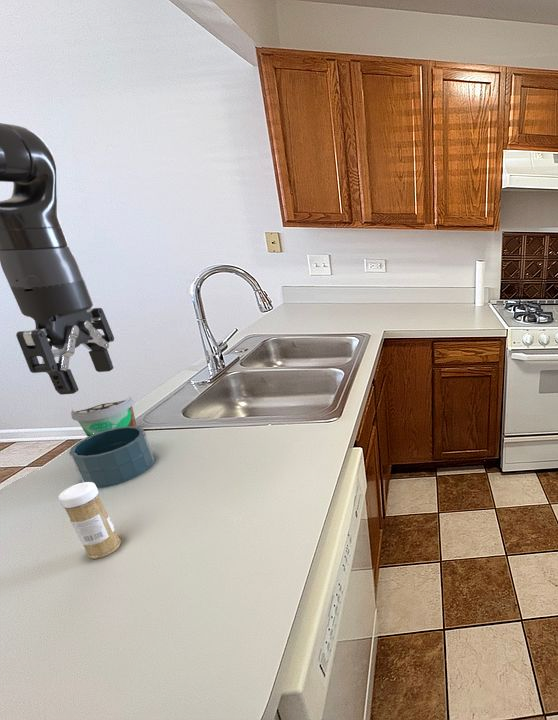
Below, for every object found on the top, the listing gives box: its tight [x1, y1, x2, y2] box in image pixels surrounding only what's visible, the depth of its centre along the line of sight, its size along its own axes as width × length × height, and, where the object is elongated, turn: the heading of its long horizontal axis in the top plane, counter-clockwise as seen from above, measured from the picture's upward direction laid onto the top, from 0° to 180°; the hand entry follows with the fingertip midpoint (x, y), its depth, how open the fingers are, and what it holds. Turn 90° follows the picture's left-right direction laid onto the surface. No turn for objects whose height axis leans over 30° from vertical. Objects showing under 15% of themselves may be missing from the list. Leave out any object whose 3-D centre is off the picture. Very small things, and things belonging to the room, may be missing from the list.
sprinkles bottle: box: [57, 482, 122, 560], centre depth 69 cm, size 5×5×13 cm
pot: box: [68, 426, 155, 489], centre depth 91 cm, size 13×13×8 cm
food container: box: [70, 395, 138, 437], centre depth 102 cm, size 12×6×10 cm, turn 129°
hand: (88, 381), depth 63 cm, fingers open, 8 cm apart
